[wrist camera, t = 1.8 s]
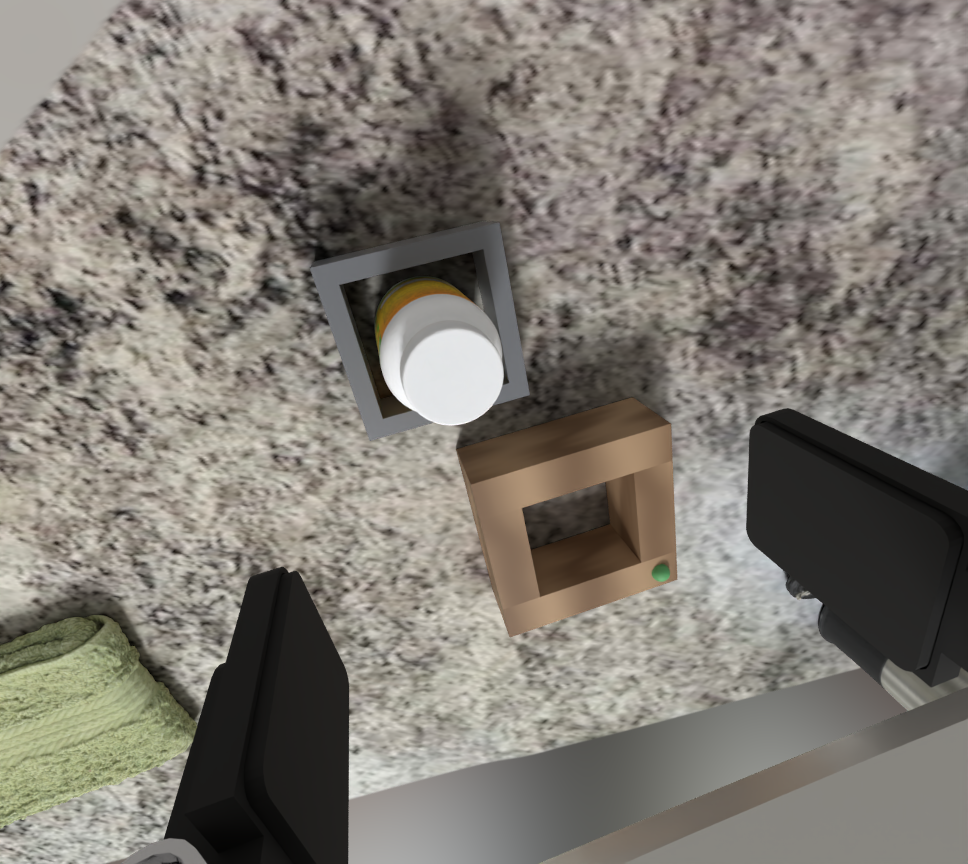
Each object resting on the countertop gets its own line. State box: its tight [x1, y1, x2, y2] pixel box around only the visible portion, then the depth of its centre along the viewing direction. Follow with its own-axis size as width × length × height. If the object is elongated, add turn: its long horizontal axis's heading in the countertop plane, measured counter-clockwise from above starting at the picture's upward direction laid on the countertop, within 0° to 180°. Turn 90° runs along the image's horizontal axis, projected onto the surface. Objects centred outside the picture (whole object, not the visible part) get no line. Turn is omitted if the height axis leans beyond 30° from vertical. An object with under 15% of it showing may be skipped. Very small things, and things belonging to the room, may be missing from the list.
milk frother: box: [786, 576, 968, 711], centre depth 40 cm, size 14×16×15 cm
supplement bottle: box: [375, 276, 504, 425], centre depth 24 cm, size 5×5×10 cm
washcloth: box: [0, 615, 197, 829], centre depth 31 cm, size 13×18×3 cm
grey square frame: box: [310, 221, 530, 441], centre depth 27 cm, size 9×9×3 cm
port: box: [456, 397, 677, 637], centre depth 33 cm, size 12×12×5 cm
